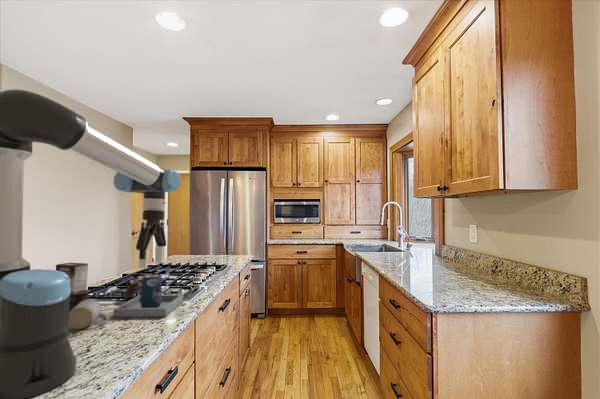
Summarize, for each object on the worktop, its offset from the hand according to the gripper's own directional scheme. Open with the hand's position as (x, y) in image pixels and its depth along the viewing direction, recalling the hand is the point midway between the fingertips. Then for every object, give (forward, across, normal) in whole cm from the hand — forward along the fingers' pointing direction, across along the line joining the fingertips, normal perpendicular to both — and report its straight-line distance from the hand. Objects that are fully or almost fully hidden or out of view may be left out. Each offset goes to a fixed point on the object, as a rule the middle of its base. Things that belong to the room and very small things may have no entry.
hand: (151, 265), depth 112 cm
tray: (+17, +1, 0) cm, 17 cm away
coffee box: (+17, +10, +36) cm, 41 cm away
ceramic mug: (+18, -14, +13) cm, 26 cm away
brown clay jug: (+17, +16, +12) cm, 26 cm away
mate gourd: (+17, -3, +24) cm, 30 cm away
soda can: (+16, +1, 0) cm, 16 cm away
